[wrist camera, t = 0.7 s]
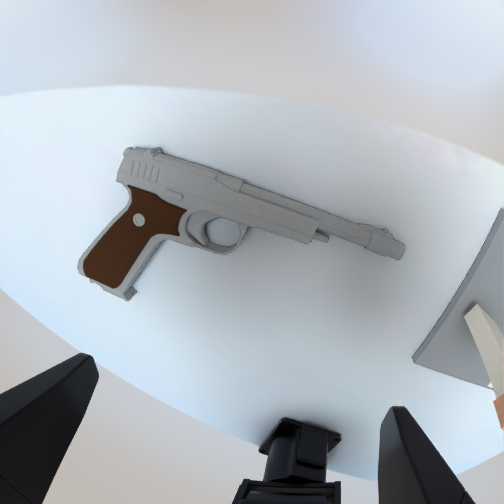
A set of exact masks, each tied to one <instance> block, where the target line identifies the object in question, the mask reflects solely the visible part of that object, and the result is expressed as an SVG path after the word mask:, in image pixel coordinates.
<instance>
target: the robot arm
mask: <svg viewBox="0 0 504 504" xmlns="http://www.w3.org/2000/svg"><path fill="white" fill-rule="evenodd" d="M98 379H99V373H98V370H97V367H96V364H95V361H94V358H93V357H92V356H91V355H88V354H85V353H79V354H77V355H75V356H73V357H71V358H69V359H67V360H65V361H64V362H62V363H60V364H58V365H56V366H54V367H52V368H50V369H48V370H46V371H44V372H42V373H41V374H38V375H36V376H35V377H33V378H31V379H29V380H27V381H25V382H23V383H21V384H19V385H17V386H15V387H13V388H11V389H9V390H7V391H5V392H3V393H1V394H0V504H42V503H43V500H44V498H45V496H46V494H47V492H48V490H49V487H50V485H51V483H52V481H53V479H54V476H55V474H56V472H57V470H58V468H59V466H60V464H61V462H62V460H63V457H64V455H65V453H66V451H67V449H68V447H69V445H70V443H71V441H72V439H73V437H74V435H75V433H76V431H77V429H78V427H79V425H80V423H81V421H82V419H83V417H84V415H85V413H86V410H87V407H88V404H89V402H90V400H91V397H92V394H93V392H94V389H95V387H96V384H97V382H98ZM340 441H341V435H339V434H336V433H333V432H329V431H326V430H322V429H319V428H315V427H312V426H309V425H305V424H302V423H299V422H296V421H293V420H290V419H286V418H285V419H282V420H281V421H280V422H279V423H278V424H277V426H276V427H275V428H274V430H273V431H272V432H271V433H270V435H269V436H268V437H267V438H266V440H265V441H264V442H263V443H262V445H261V446H260V447H259V452H260V453H262V454H265V455H268V459H267V464H266V469H265V474H264V478H263V481H255V480H250V479H244V480H243V482H242V484H241V485H240V486H239V489H238V491H237V493H236V495H235V498H234V500H233V502H232V504H341V481H335V482H330V483H326V466H327V453H329V452H330V451H331V450H332V449H333V448H334V447H335V446H336V445H337V444H338V443H339V442H340ZM378 489H379V504H475V502H474V501H473V500H472V498H471V497H470V495H469V494H468V492H467V491H465V489H464V487H463V486H462V484H461V483H460V481H459V480H458V479H457V477H456V476H455V474H454V473H453V471H452V470H451V469H450V467H449V466H448V464H447V463H446V462H445V460H444V459H443V457H442V456H441V455H440V453H439V452H438V451H437V449H436V448H435V446H434V445H433V444H432V442H431V441H430V440H429V438H428V437H427V436H426V434H425V433H424V431H423V430H422V429H421V427H420V426H419V425H418V423H417V422H416V421H415V419H414V418H413V417H412V415H411V414H410V413H409V411H408V410H407V409H406V408H405V407H404V406H392V407H391V408H390V409H389V411H388V412H387V414H386V416H385V418H384V420H383V421H382V424H381V428H380V448H379V464H378Z"/></svg>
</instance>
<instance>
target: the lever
mask: <svg viewBox="0 0 504 504" xmlns="http://www.w3.org/2000/svg"><path fill="white" fill-rule="evenodd" d="M464 318H465V320H466V322H467V324H468V327H469V329H470V331H471V333H472V336H473V338H474V340H475V343H476V345H477V347H478V350H479V352H480V355H481V357H482V360H483V362H484V365H485V367H486V370H487V373H488V375H489V378H490V381H491V383H492V386H493V389H494V392H495V395H496V398H497V399H496V400H495V401H493V402H494V405H495V409H496V412H497V415H498V418H499V422H500V425H501V429H503V430H504V337H503V335H502V333H501V331H500V329H499V327H498V325H497V324H496V322H495V321H494V320H493V319H492V318H491V317H490V316H489V315H488V314H487V313H486V312H485V311H484V310H483V309H482V308H481V307H480V306H479V305H478V304H476V305H475V306H474V307H473V308H472V309H471V310H470V311H469V312H468V313H467V314H466V315H465V316H464Z"/></svg>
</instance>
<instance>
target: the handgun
mask: <svg viewBox="0 0 504 504" xmlns="http://www.w3.org/2000/svg"><path fill="white" fill-rule="evenodd" d="M162 153H163V151H161V148H159V147H156V148H153V149H152V148H151V149H144V148H135V149H133V147H129V148H126V149H125V151H124V153H123V156H124V159H123V161H122V163H121V165H120V167H119V170H118V173H117V179H116V181H117V182H119V183H122V184H123V185H124V187H125V188H126V189H127V190H128V193H129V201H128V204H127V205H126V207H125V208H124V209H123V210H122V211H121V212H120V213H119V214H118V215H117V216H116V217H115V218H114V219H113V220H112V221H111V222H110V223H109V224H108V225H107V226H106V228H105V229H104V230H103V231H102V232H101V233H100V234H99V236H98V237H97V238H96V239H95V240H94V241H93V242H92V244H91V245H90V246H89V247H88V248H87V250H86V251H85V252H84V253H83V255H82V256H81V258H80V259H79V261H78V266H77V268H78V272H79V274H81V275H83V276H85V277H87V278H90V282H91V283H94V282H95V283H96V284H98V285H99V286H100V287H101V288H102V289H103V290H104V291H107V292H109V293H111V294H113V295H115V296H118V297H120V298H122V299H124V300H125V301H130V299H131V298H132V297H133V296H134V295H135V294H136V293H137V290H135V289H133V288H132V284H133V283H134V281H135V280H136V278H137V277H138V275H139V274H140V272H141V271H142V269H143V268H144V267H145V265H146V264H147V262H148V261H149V259H150V258H151V256H152V255H153V253H154V252H155V250H156V249H157V248H158V246H159V245H160V243H161V242H162V241H163V240H173V241H176V242H179V243H182V244H185V245H188V246H191V247H198V248H202V249H204V250H207V251H210V252H213V253H216V254H225V255H227V254H229V253H231V252H233V251H235V250H236V249H237V247H238V246H239V244H240V242H241V241H242V239H243V237H244V235H245V233H246V231H247V228H248V226H249V227H255V228H259V229H262V230H266V231H269V232H272V233H275V234H278V235H281V236H284V237H287V238H290V239H293V240H296V241H299V242H301V243H304V244H307V245H308V243H309V242H311V241H312V238H313V239H317V240H320V241H322V242H323V241H324V242H325V243H327V242H328V239H329V236H327V235H326V236H325V235H324V234H321V233H319V232H317V231H316V229H319V230H322V231H324V232H327V233H330V234H332V235H335V236H338V237H340V238H343V239H345V240H348V241H351V242H353V243H356V244H358V245H361V246H364V248H365V249H368V250H370V251H373V252H375V253H378V254H380V255H383V256H389V257H392V258H394V259H396V260H400V259H401V258H402V256H403V254H404V251H405V244H403V243H401V242H399V241H396V240H394V239H393V238H394V236H393V235H392V234H390V233H388V232H389V231H388V230H387V229H382V230H380V229H377V228H375V227H373V226H370V225H366V224H358V225H357V224H355V223H352V222H349V221H347V220H344V219H342V218H339V217H337V216H334V215H331V214H329V213H326V212H323V211H321V210H318V209H315V208H313V207H310V206H307V205H305V204H302V203H299V202H296V201H294V200H291V199H288V198H285V197H283V196H280V195H277V194H274V193H271V192H268V191H266V190H263V189H260V188H257V187H254V186H251V185H248V184H245V183H244V181H243V180H240V179H237V178H234V177H231V176H228V175H225V174H222V173H219V171H217V170H214V169H211V168H207V167H204V166H201V165H198V164H195V163H191V162H188V161H185V160H182V159H178V158H175V157H172V156H168V155H165V154H162ZM219 217H223V218H226V219H229V220H232V221H234V222H237V224H238V226H239V228H240V239H239V241H238V243H237V244H235V245H232V246H230V247H222V246H218V245H216V244H213V243H210V242H208V241H209V240H208V238H207V237H206V235H205V224H206V223H207V222H209V221H211V220H214V219H216V218H219Z"/></svg>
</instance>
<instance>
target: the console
mask: <svg viewBox="0 0 504 504" xmlns="http://www.w3.org/2000/svg"><path fill="white" fill-rule="evenodd" d="M476 304H478V305H479V306H480V307H481V308H482V309H483V310H484V311H485V312H486V313H487V314H488V315H489V316H490V317H491V318H492V319H493V320H494V321H495V322H496V324H497V325H498V327H499V329H500V331H501V333H502V335H503V337H504V209H502V208H501V210H500V212H499V214H498V216H497V218H496V220H495V223H494V225H493V227H492V229H491V231H490V233H489V235H488V237H487V239H486V241H485V243H484V245H483V247H482V249H481V250H480V252H479V254H478V256H477V258H476V260H475V262H474V263H473V265H472V267H471V269H470V270H469V272H468V274H467V276H466V277H465V279H464V281H463V283H462V284H461V286H460V288H459V289H458V291H457V292H456V294H455V296H454V297H453V299H452V300H451V302H450V304H449V305H448V307H447V308H446V310H445V311H444V313H443V314H442V316H441V317H440V319H439V320H438V322H437V323H436V325H435V326H434V328H433V329H432V331H431V332H430V333H429V335H428V336H427V338H426V339H425V340H424V342H423V343H422V345H421V346H420V347H419V349H418V350H417V351H416V353H415V354H414V355H413V357H412V358H413V361H414V363H415V364H418V365H421V366H423V367H426V368H429V369H432V370H435V371H438V372H441V373H444V374H446V375H449V376H452V377H455V378H458V379H461V380H464V381H467V382H470V383H473V384H476V385H479V386H482V387H485V388H489V389H492V390H494V389H493V386H492V383H491V381H490V378H489V375H488V373H487V370H486V367H485V365H484V362H483V360H482V357H481V355H480V352H479V350H478V347H477V345H476V343H475V340H474V338H473V336H472V333H471V331H470V329H469V327H468V324H467V322H466V320H465V318H464V316H465V315H466V314H467V313H468V312H469V311H470V310H471V309H472V308H473V307H474V306H475V305H476Z"/></svg>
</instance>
